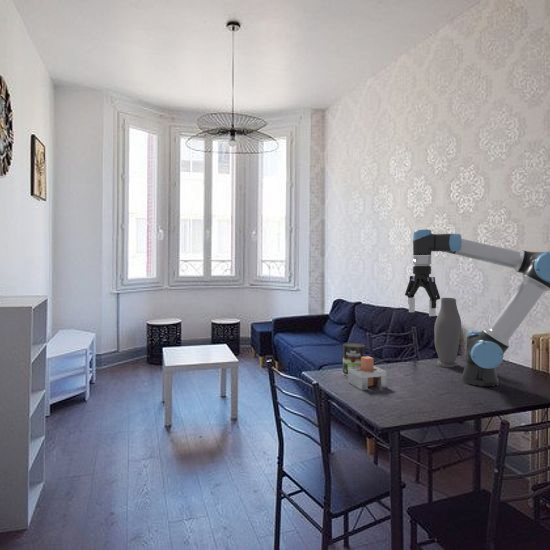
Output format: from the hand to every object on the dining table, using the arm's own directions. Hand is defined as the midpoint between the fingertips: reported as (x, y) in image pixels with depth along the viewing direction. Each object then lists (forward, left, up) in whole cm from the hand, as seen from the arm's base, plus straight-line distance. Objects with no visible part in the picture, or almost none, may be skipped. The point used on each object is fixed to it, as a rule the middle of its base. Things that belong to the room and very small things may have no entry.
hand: (421, 314), depth 192 cm
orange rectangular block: (+22, -7, -31) cm, 39 cm away
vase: (-36, -24, -31) cm, 53 cm away
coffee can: (+19, -24, -32) cm, 44 cm away
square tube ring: (+22, -7, -31) cm, 39 cm away
